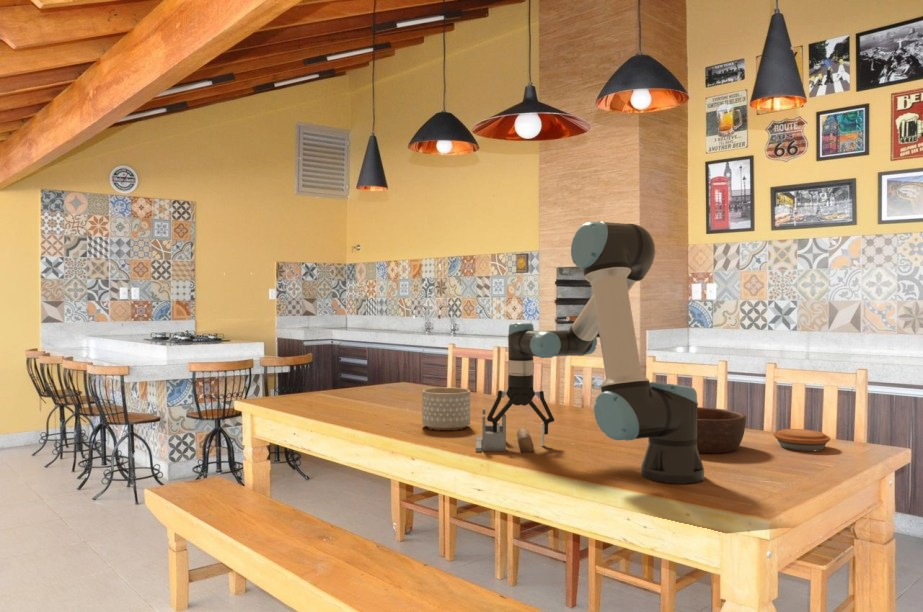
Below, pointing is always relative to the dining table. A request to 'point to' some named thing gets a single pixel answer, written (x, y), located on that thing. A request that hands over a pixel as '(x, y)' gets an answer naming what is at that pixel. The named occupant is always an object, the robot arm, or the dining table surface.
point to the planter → (446, 408)
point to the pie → (801, 439)
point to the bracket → (492, 437)
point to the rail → (524, 440)
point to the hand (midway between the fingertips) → (520, 445)
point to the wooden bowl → (719, 430)
